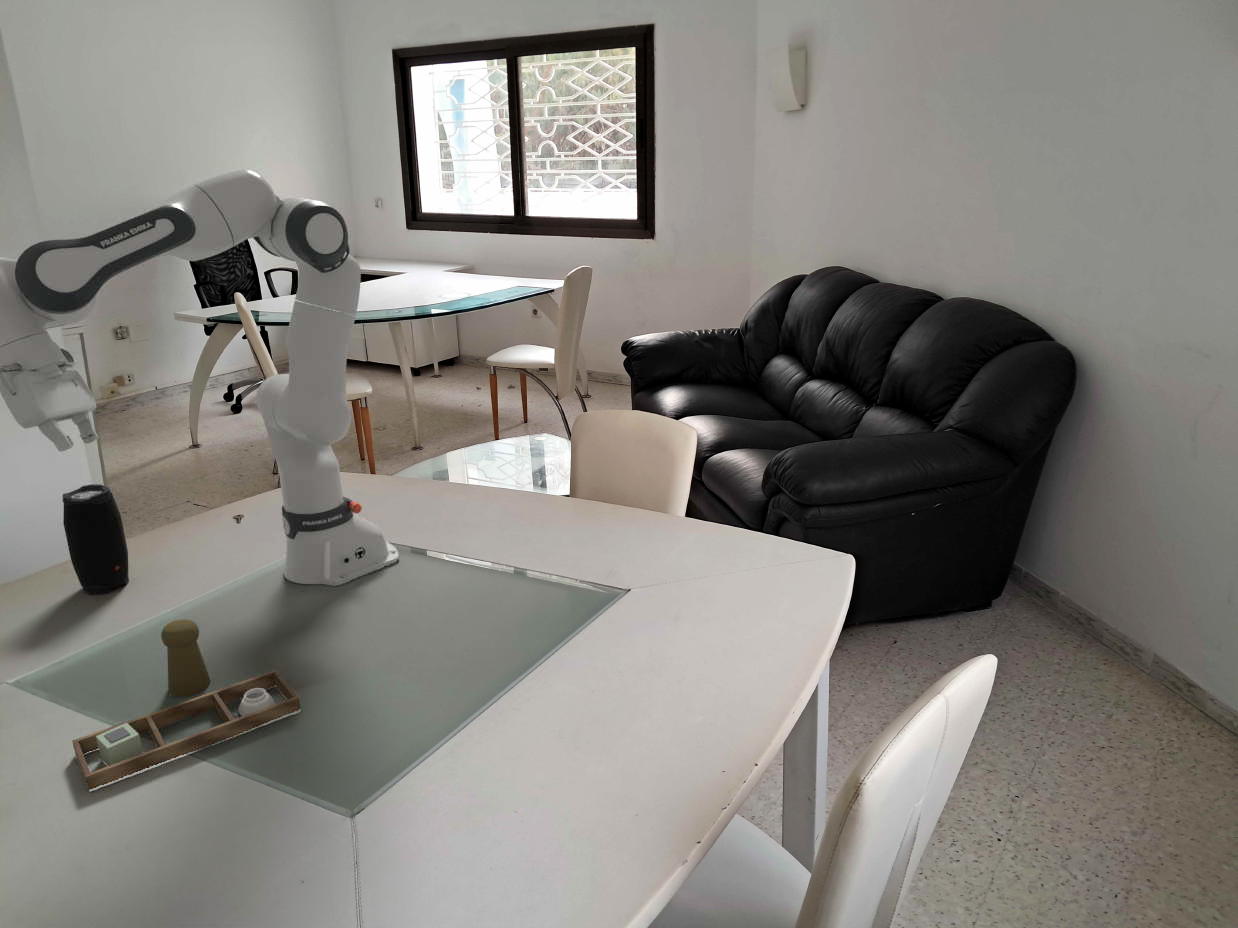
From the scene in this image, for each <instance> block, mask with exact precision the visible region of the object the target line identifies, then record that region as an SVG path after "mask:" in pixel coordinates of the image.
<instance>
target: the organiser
mask: <svg viewBox="0 0 1238 928" xmlns="http://www.w3.org/2000/svg"><path fill="white" fill-rule="evenodd" d="M275 685H276V686H277V687H276V688H278V689H279V690H280V691H281V692H282V694H283V695H284V696H285V697H286V698H287V700H286V699H285V700H283V701H280V702H278V703H275V704H274V705H272V706H269V707H266V708H264V709H261V710H258V711H256V712H253V713H250V714H247V715H245V716H239V717H236V718H235V717H234V716H233V714H232V713H231V712H230V710H229V708H228V707H227V706H226V705H228V704H230V702H231V703H233V701H234V702H236V700H237V701H239V700H241V699H240V698H242V699H243V697H244V694H245V693H246V692H247V691H249V690H251V689H254V688H262V689H264V690H265V689H267V690H269V689H268V688H270V689H272V688H271V687H273V688H275V687H274V686H275ZM278 689H277V690H278ZM279 690H278V691H279ZM265 691H266V690H265ZM280 691H279V692H280ZM281 692H280V693H281ZM282 694H281V695H282ZM283 695H282V696H283ZM284 696H283V697H284ZM285 697H284V698H285ZM238 699H239V700H238ZM300 699H301V698H300V696H299V695H298V694H297V693H296V692H295V691H294V689H293V688H292V687H291V685H290V684H289V683H288V682H287V681H286V679H285V678H284V677H283V676H282V675H281V673H280V672H279V671H278V670H277V669H274V670H271V671H268V672H266V673H262V674H260V675H256V676H255V677H251V678H249V679H245V680H243V681H240V682H236V683H234V684H231V685H229V686H225V687H222V688H219V689H217V690H214V691H211V692H208V693H205V694H202V695H200V696H197V697H194V698H191V699H188V700H186V701H181V702H178V703H176V704H174V705H171V706H168V707H165V708H161V709H160V710H157V711H154V712H150V713H148V714H144V715H142V716H139V717H136V718H133V719H130V720H128V721H124V722H121V723H118V724H116V725H114V726H113V725H112V726H111V727H108V728H104V729H101V730H99V731H96V732H92V733H90V734H87V735H83V736H81V737H78V738H76V739H73V740H72V746H73V750H74V753H75V754H74V755H75V757H77V758H76V760H77V763H78V762H79V763H78V765H80V766H79V768H80V771H81V770H82V771H81V773H83V774H82V776H83V779H84V778H85V779H84V781H86V782H85V784H86V783H87V784H86V787H87V786H88V787H87V789H89V790H90V789H93V788H96V787H98V786H100V785H104V784H107V783H109V782H112V781H115V780H118V779H119V778H123V777H124V776H127V775H131V774H133V773H135V772H138V771H141V770H143V769H145V768H149V767H150V766H153V765H157V764H159V763H162V762H165V761H167V760H170V759H172V758H176V757H178V756H180V755H184V754H187V753H189V752H193V751H196V750H199V749H202V748H205V747H207V746H210V745H212V744H215V743H217V742H219V741H222V740H225V739H227V738H230V737H233V736H235V735H238V734H240V733H243V732H244V731H248V730H251V729H252V728H255V727H258V726H260V725H262V724H264V723H267V722H269V721H271V720H274V719H277V718H280V717H282V716H284V715H287V714H290V713H293V712H295V711H298V710H299V709H301V710H302V708H301V701H300ZM227 703H228V704H227ZM210 709H211V710H214V709H215V711H216V710H217V711H216V712H217V714H218V713H219V714H218V715H219V717H220V716H221V717H220V718H221V720H222V719H223V720H222V721H223V723H221V724H218V725H216V726H213V727H210V728H207V729H204V730H201V731H199V732H196V733H194V734H191V735H188V736H186V737H184V738H180V739H177V740H174V741H171V742H170V743H167V744H166V743H165V742H166V741H164V739H163V737H162V735H161V733H160V731H159V729H161V728H164V727H166V726H170V725H172V724H175V723H178V722H180V720H181V721H183V720H182V719H184V720H186V719H189V718H191V716H192V717H194V715H195V716H196V715H201V714H203V713H206V712H208V710H209V711H211V710H210ZM205 711H206V712H205ZM202 712H203V713H202ZM188 717H189V718H188ZM185 718H186V719H185ZM177 721H178V722H177ZM224 722H225V723H224ZM125 723H128V724H129V725H130V726H131V727H132V728H133V729H134V730H135V731H136V732H137V733H138V734H139V736H141V735H144V734H148V733H149V735H150V737H151V739H152V740H153V743H154V745H155V744H156V745H155V747H156V746H157V747H156V748H153V749H151V750H148V751H146V752H143V753H142V754H139V755H137V756H134V757H131V758H129V759H126V760H123V761H121V762H118V763H115V764H113V765H110V766H103V768H99V769H97V770H94V771H92V772H91V771H90V769H89V766H88V763H87V761H86V758H85V755H83V754H85V753H87V752H89V751H93V750H96V749H98V744H97V739H96V736H98V735H100V734H102V733H104V732H107V731H109V730H111V729H113V728H116V727H118V726H120V725H123V724H125ZM169 724H170V725H169ZM89 790H88V791H89Z"/></svg>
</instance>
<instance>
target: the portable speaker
mask: <svg viewBox="0 0 1238 928" xmlns="http://www.w3.org/2000/svg"><path fill="white" fill-rule="evenodd" d="M62 502H63V528H64V532H65V537H66V543H67V549H68V553H69V557H70V560H71V564H72V568H73V569H74V572H75V574H76V577H77V579H78V581H79V585H80V586H81V588H83V590H84V591H85V592H86V593H87V594H88V595H97V596H98V595H104V594H108V593H109V591H110V590H111V589H113V588H115V587H118V586H120V585H122V586H126V585H127V584H128V583H129V581H130V577H129V550H128V545H127V540H126V535H125V530H124V529H125V528H124V524H123V520H122V519H123V518H122V514H121V513H120V510H119V507H118V505H117V502H116V500H115V498H114V494H113V493H112V491H111V489H110V487H108V486H105V485H104V484H95V483H94V484H93V483H92V484H85V485H82V486H80V487H79V488H77V489H74V490H72V491H70V492H65V493H62Z"/></svg>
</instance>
